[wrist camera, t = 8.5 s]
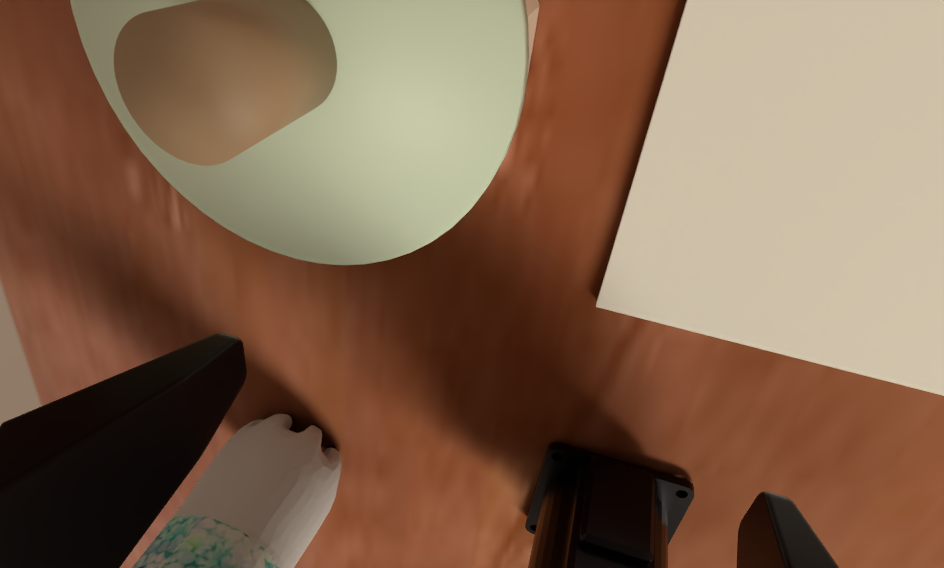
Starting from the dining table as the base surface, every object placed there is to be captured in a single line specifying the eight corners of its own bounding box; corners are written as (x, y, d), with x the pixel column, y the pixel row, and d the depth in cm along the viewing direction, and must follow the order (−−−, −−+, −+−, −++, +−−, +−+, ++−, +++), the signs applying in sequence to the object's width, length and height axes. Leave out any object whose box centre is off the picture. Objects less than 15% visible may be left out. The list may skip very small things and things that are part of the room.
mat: (1005, 404, 20) (1011, 412, 20) (596, 301, 22) (595, 306, 22) (1438, -74, 12) (1460, -73, 12) (735, -164, 14) (736, -165, 14)
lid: (491, 294, 19) (446, 396, 15) (139, 204, 21) (20, 273, 17) (580, -238, 12) (537, -306, 8) (24, -300, 14) (-231, -377, 10)
